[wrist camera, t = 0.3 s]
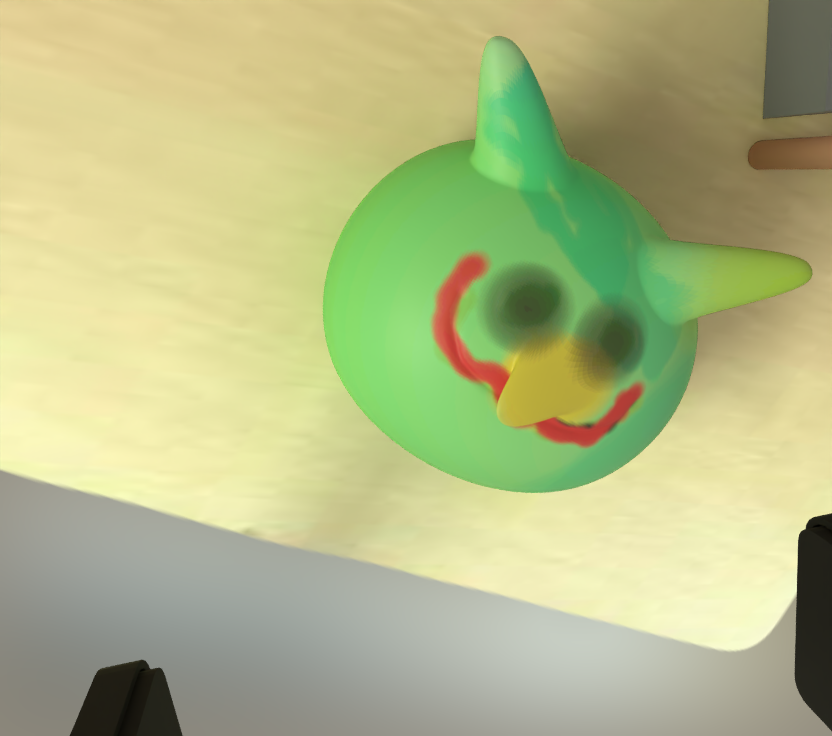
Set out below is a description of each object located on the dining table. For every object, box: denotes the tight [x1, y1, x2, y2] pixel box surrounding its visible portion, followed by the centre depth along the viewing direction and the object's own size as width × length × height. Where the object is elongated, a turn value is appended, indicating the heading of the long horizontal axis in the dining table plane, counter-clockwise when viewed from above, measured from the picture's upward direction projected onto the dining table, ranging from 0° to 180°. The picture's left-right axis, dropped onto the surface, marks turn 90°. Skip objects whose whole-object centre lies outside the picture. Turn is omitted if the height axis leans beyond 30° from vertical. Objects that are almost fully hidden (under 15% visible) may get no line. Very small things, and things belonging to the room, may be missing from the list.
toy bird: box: [323, 36, 812, 493], centre depth 33 cm, size 18×17×15 cm
